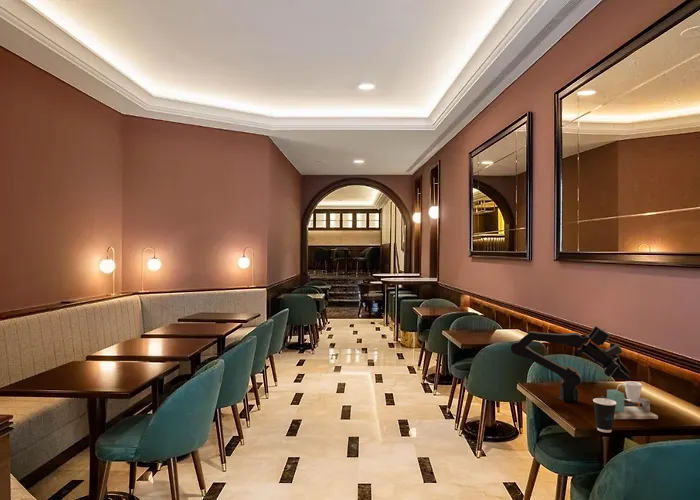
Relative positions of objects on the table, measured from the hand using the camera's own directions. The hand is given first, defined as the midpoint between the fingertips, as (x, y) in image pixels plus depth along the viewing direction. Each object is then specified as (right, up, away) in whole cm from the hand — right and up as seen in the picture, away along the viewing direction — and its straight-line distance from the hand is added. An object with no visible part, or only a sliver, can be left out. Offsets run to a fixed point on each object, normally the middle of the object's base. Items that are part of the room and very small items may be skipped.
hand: (629, 376), depth 215 cm
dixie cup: (-24, -14, -26) cm, 38 cm away
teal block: (-9, -12, -6) cm, 17 cm away
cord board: (-5, -14, -6) cm, 16 cm away
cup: (+6, -14, +12) cm, 19 cm away
